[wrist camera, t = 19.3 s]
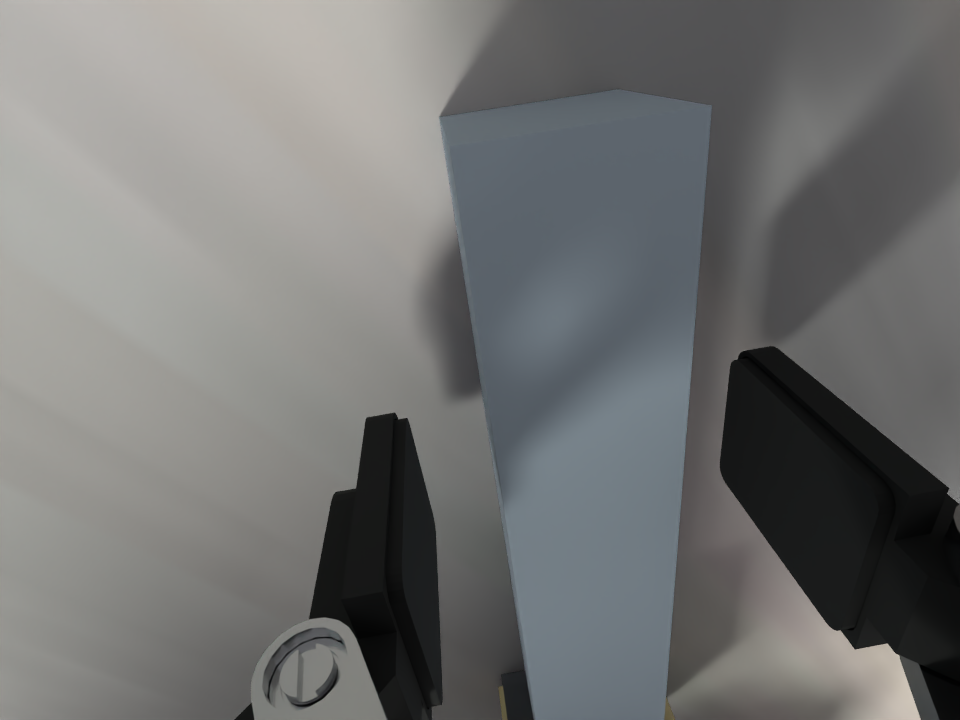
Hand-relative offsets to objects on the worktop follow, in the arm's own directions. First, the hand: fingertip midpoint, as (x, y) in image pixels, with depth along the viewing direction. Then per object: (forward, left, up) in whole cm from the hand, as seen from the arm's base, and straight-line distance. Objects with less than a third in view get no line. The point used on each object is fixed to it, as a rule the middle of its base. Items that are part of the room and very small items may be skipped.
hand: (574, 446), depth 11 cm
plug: (-5, 0, -2) cm, 5 cm away
